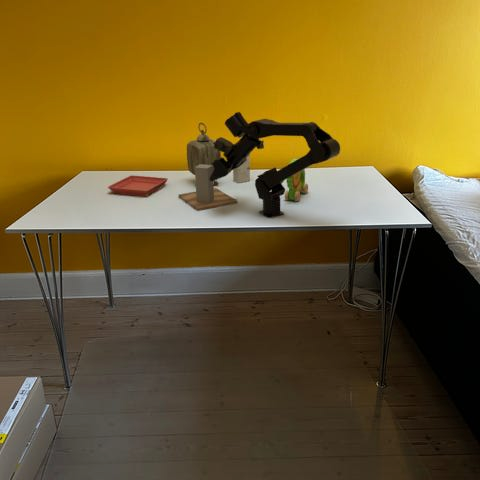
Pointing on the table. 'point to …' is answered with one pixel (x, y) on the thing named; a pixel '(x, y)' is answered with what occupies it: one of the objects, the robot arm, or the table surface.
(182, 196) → the walnut board
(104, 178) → the table surface
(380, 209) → the table surface
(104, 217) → the table surface
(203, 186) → the tall taupe box
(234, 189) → the table surface
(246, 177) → the skincare box
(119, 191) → the plant saucer
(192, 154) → the tabletop clock
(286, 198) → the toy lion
